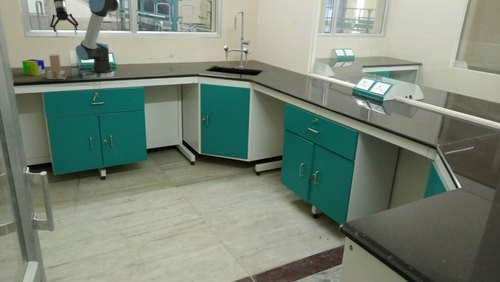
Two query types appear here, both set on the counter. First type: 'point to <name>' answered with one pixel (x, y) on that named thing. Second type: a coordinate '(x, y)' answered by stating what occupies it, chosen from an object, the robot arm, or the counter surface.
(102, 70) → the robot arm
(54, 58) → the pillar block
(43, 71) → the puzzle toy
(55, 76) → the pedestal
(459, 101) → the counter surface
